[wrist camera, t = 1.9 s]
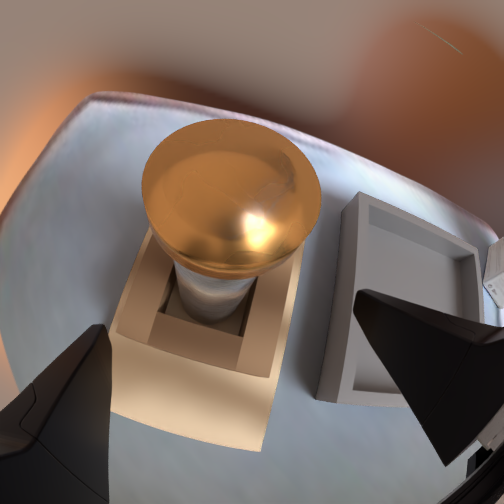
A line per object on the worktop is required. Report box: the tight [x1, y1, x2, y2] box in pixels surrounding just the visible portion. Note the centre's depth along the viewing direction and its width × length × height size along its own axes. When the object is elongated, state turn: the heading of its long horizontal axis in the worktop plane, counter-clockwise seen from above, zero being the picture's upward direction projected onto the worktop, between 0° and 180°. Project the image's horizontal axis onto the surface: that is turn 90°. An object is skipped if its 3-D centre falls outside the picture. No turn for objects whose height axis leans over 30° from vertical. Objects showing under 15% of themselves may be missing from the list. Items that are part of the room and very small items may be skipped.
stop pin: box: [142, 119, 321, 325], centre depth 14 cm, size 5×5×13 cm
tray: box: [315, 192, 484, 407], centre depth 21 cm, size 17×17×4 cm
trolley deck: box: [108, 226, 305, 452], centre depth 19 cm, size 20×12×4 cm, turn 167°
